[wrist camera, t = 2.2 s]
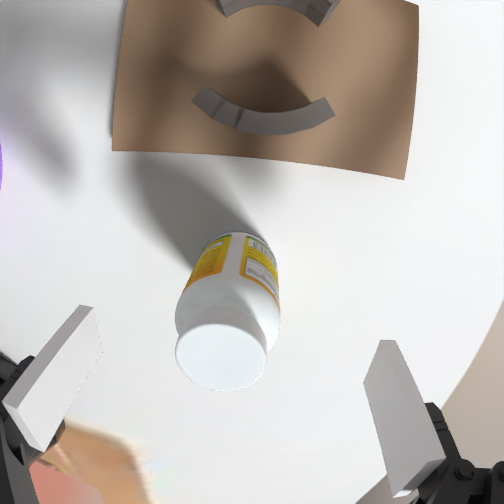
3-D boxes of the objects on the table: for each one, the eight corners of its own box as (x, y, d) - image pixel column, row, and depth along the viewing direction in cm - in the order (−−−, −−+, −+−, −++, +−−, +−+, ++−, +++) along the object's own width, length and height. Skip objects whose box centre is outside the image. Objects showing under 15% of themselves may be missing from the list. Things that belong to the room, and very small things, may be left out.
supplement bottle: (281, 233, 21) (294, 316, 12) (271, 304, 23) (275, 405, 14) (199, 226, 21) (155, 301, 12) (197, 296, 23) (164, 393, 14)
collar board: (121, 148, 19) (78, 159, 14) (140, -16, 14) (107, -47, 9) (395, 175, 19) (434, 194, 14) (409, 11, 15) (448, -14, 10)
